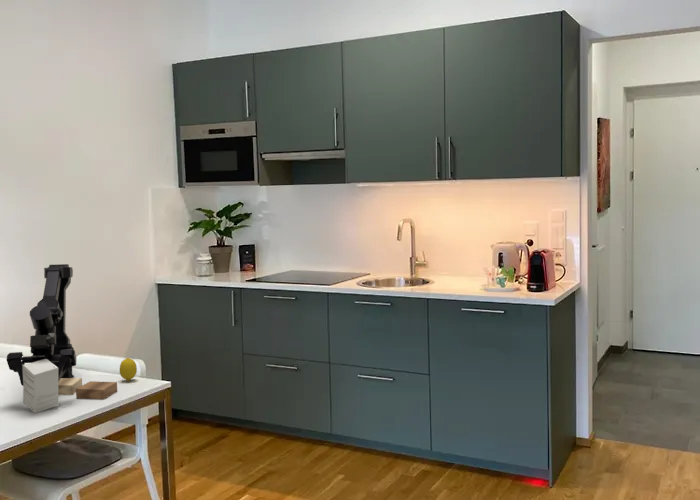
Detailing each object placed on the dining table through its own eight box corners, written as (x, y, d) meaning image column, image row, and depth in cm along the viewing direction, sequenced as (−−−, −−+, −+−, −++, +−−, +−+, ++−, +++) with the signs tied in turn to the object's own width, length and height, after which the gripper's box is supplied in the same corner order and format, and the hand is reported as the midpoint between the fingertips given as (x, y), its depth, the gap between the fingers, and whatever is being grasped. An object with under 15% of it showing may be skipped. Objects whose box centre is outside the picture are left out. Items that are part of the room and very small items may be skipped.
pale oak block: (43, 395, 224) (43, 385, 224) (54, 387, 233) (54, 378, 233) (72, 394, 225) (72, 385, 224) (82, 386, 234) (82, 377, 233)
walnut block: (76, 398, 220) (75, 388, 220) (90, 390, 229) (90, 381, 229) (103, 399, 219) (103, 389, 219) (117, 391, 228) (116, 382, 228)
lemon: (139, 379, 243) (138, 355, 242) (133, 383, 238) (132, 359, 237) (124, 378, 244) (123, 355, 243) (117, 383, 238) (116, 359, 238)
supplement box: (47, 395, 215) (47, 357, 212) (59, 405, 211) (59, 367, 207) (22, 402, 210) (22, 364, 206) (34, 413, 205) (34, 374, 202)
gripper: (6, 325, 211) (-1, 370, 201) (73, 322, 215) (70, 366, 205) (13, 347, 219) (6, 391, 209) (78, 343, 223) (74, 386, 213)
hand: (39, 383), depth 209 cm, fingers closed on supplement box, 9 cm apart
